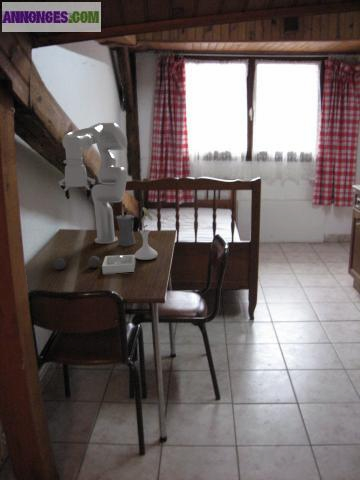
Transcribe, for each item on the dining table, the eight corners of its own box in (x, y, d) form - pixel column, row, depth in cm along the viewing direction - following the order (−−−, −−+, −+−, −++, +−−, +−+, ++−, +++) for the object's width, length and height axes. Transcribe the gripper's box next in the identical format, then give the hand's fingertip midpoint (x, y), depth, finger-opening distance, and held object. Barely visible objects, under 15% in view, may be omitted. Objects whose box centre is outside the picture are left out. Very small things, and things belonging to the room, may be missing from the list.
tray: (106, 264, 227) (105, 256, 226) (135, 262, 227) (134, 254, 226) (102, 274, 214) (102, 266, 212) (134, 272, 214) (133, 264, 213)
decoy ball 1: (55, 267, 225) (54, 256, 224) (67, 266, 225) (66, 255, 224) (53, 271, 220) (51, 260, 218) (65, 270, 220) (63, 259, 218)
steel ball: (113, 268, 218) (112, 257, 216) (114, 264, 223) (113, 253, 221) (125, 268, 218) (124, 257, 216) (125, 264, 223) (125, 253, 221)
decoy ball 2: (89, 265, 226) (88, 254, 224) (101, 265, 226) (100, 254, 224) (87, 269, 220) (86, 258, 219) (99, 269, 220) (98, 257, 219)
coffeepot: (112, 245, 256) (109, 212, 251) (122, 240, 264) (119, 208, 259) (136, 248, 249) (134, 214, 244) (145, 243, 257) (143, 210, 252)
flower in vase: (157, 261, 228) (154, 210, 221) (133, 262, 228) (130, 211, 221) (158, 252, 240) (156, 204, 233) (136, 253, 240) (132, 205, 233)
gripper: (54, 164, 220) (58, 200, 225) (92, 162, 220) (95, 199, 225) (58, 162, 227) (61, 197, 232) (94, 160, 227) (97, 195, 232)
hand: (78, 198), depth 228 cm, fingers open, 9 cm apart
